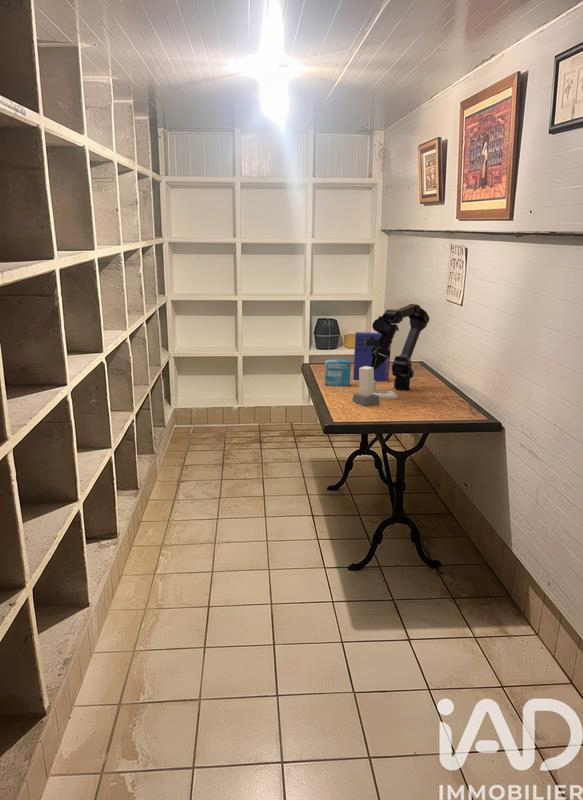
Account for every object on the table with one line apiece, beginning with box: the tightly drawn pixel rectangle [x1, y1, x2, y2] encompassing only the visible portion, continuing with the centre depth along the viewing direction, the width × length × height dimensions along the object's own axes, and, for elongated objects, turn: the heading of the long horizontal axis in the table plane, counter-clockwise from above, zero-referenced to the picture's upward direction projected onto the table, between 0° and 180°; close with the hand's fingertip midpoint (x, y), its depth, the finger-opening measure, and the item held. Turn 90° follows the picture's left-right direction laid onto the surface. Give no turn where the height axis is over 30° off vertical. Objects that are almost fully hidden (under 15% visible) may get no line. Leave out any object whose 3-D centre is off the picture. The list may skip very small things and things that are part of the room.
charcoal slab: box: [352, 392, 380, 407], centre depth 263 cm, size 8×8×4 cm
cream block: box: [358, 366, 374, 397], centre depth 261 cm, size 4×4×12 cm
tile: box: [374, 390, 398, 399], centre depth 276 cm, size 12×9×1 cm
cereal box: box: [352, 331, 392, 382], centre depth 304 cm, size 17×5×24 cm, turn 88°
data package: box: [324, 359, 352, 387], centre depth 294 cm, size 12×4×12 cm, turn 93°
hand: (372, 369), depth 272 cm, fingers open, 9 cm apart
